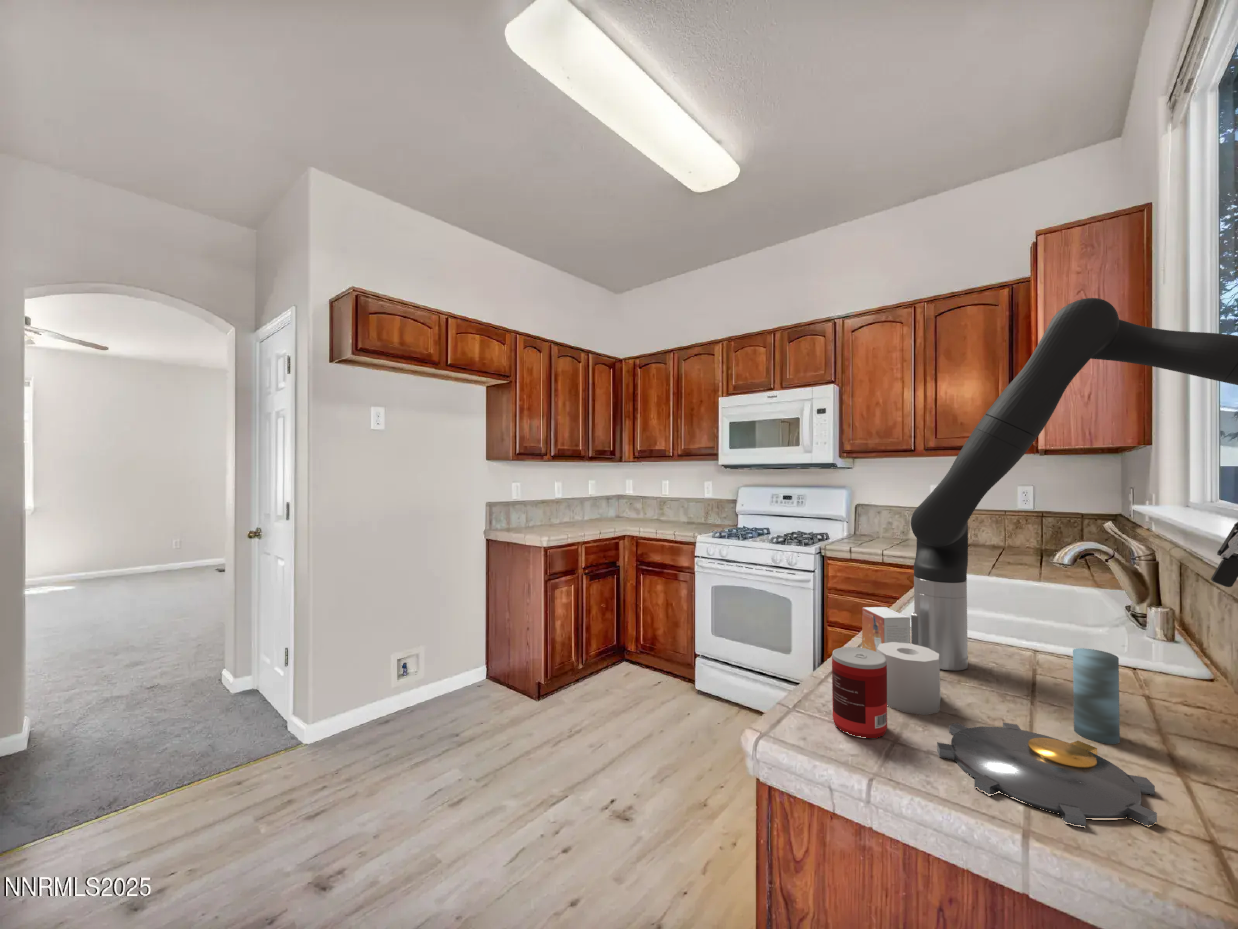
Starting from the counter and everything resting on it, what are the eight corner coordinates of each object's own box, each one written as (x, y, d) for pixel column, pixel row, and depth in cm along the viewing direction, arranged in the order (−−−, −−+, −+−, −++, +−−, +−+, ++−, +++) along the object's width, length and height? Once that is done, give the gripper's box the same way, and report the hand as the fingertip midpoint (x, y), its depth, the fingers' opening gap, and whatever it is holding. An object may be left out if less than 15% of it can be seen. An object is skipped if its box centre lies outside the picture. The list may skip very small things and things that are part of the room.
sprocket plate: (922, 772, 67) (922, 760, 67) (961, 716, 83) (960, 706, 83) (1159, 858, 52) (1159, 843, 52) (1152, 770, 68) (1152, 758, 68)
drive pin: (1072, 735, 77) (1071, 654, 77) (1075, 723, 80) (1074, 646, 80) (1119, 748, 73) (1118, 663, 73) (1120, 735, 77) (1118, 654, 77)
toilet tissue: (941, 690, 92) (941, 642, 93) (937, 720, 81) (937, 665, 82) (885, 679, 98) (885, 633, 98) (874, 705, 87) (874, 654, 87)
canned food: (883, 719, 82) (882, 649, 82) (891, 744, 74) (891, 667, 74) (831, 711, 84) (830, 644, 84) (834, 735, 77) (833, 661, 77)
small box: (861, 656, 109) (861, 606, 109) (886, 655, 110) (886, 606, 110) (884, 671, 101) (883, 617, 101) (911, 670, 102) (910, 616, 102)
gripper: (1232, 482, 83) (1180, 571, 84) (1285, 470, 71) (1223, 575, 72) (1299, 502, 79) (1243, 596, 80) (1367, 493, 67) (1300, 604, 68)
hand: (1234, 586), depth 76 cm, fingers open, 8 cm apart
